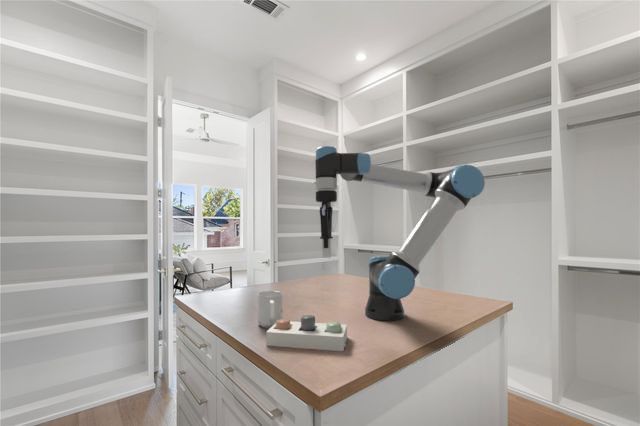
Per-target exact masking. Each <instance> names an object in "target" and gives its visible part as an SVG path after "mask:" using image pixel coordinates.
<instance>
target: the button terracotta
mask: <svg viewBox="0 0 640 426" xmlns="http://www.w3.org/2000/svg"><path fill="white" fill-rule="evenodd" d="M290 321H291V320H290V319H287V318H283V319H280V320H277V321H276V329H281V330H289V329H290Z"/></svg>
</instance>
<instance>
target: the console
mask: <svg viewBox="0 0 640 426" xmlns="http://www.w3.org/2000/svg"><path fill="white" fill-rule="evenodd" d="M327 323H328V322H327ZM327 323H326V322H315V331H314V332H313V331H301V321H291V320H290V329H289V330H281V329H276V323H275V324H274V325H273V326H272V327H271V328H268V330H266V332H265V335H266V336H265V338H266V339H265V340H266V342H265V343H266V344H265V346H268V347H277V348H278V347H280V348H293V349H294V348H295V349H306V350H307V349H308V350H321V351H333V352H334V351H335V352H344V349H345V346H346V343H347V339H348V324H344V323H340V324H341V333H329V332H326V324H327Z"/></svg>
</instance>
